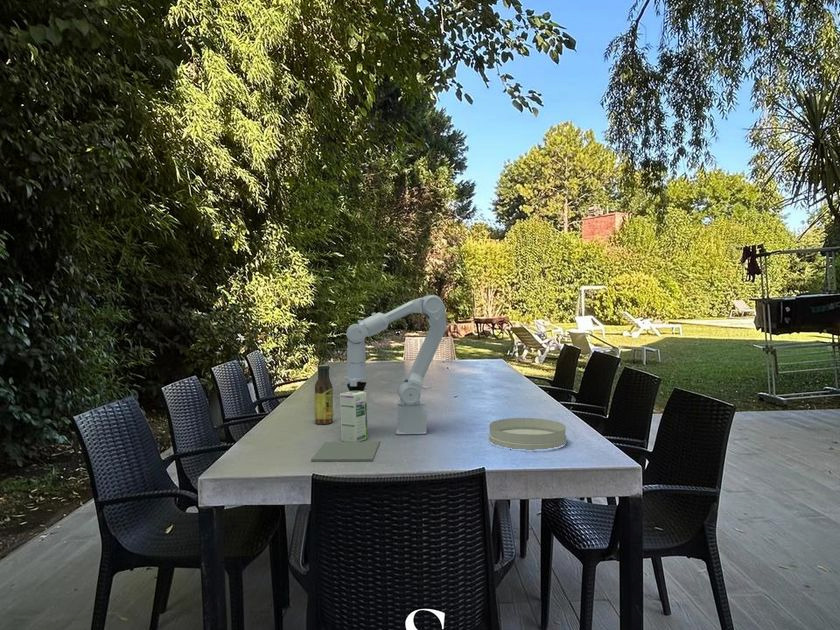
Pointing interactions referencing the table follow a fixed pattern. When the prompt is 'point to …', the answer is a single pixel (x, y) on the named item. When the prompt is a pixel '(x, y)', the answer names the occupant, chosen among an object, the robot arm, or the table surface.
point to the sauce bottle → (323, 396)
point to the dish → (527, 433)
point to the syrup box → (353, 416)
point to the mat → (346, 451)
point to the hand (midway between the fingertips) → (357, 406)
